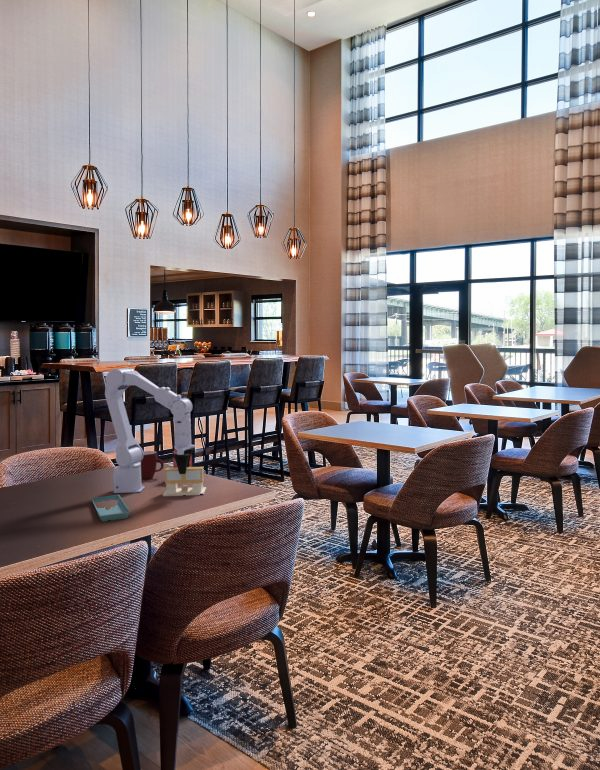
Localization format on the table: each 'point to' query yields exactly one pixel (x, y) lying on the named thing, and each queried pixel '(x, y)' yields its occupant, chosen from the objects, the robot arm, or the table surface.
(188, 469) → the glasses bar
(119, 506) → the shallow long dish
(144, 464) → the mug
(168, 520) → the table surface
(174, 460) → the soda can
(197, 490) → the display stand
